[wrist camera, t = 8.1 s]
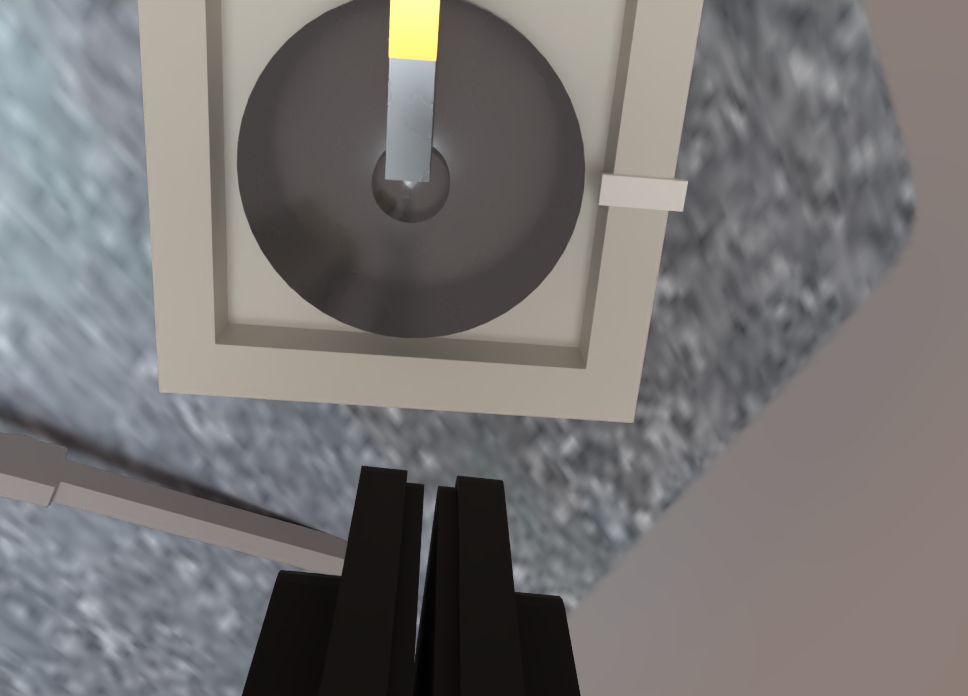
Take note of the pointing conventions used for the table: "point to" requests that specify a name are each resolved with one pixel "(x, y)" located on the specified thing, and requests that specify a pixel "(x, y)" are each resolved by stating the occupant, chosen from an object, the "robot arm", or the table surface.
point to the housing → (414, 361)
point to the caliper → (158, 507)
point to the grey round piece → (411, 165)
